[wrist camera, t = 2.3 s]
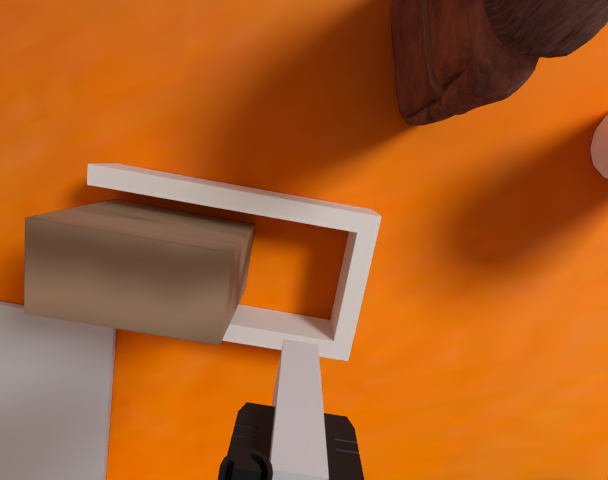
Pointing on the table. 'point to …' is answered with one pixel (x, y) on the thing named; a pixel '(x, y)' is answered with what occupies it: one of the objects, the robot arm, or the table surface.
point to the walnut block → (137, 269)
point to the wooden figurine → (479, 49)
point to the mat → (54, 397)
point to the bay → (358, 221)
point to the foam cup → (600, 148)
